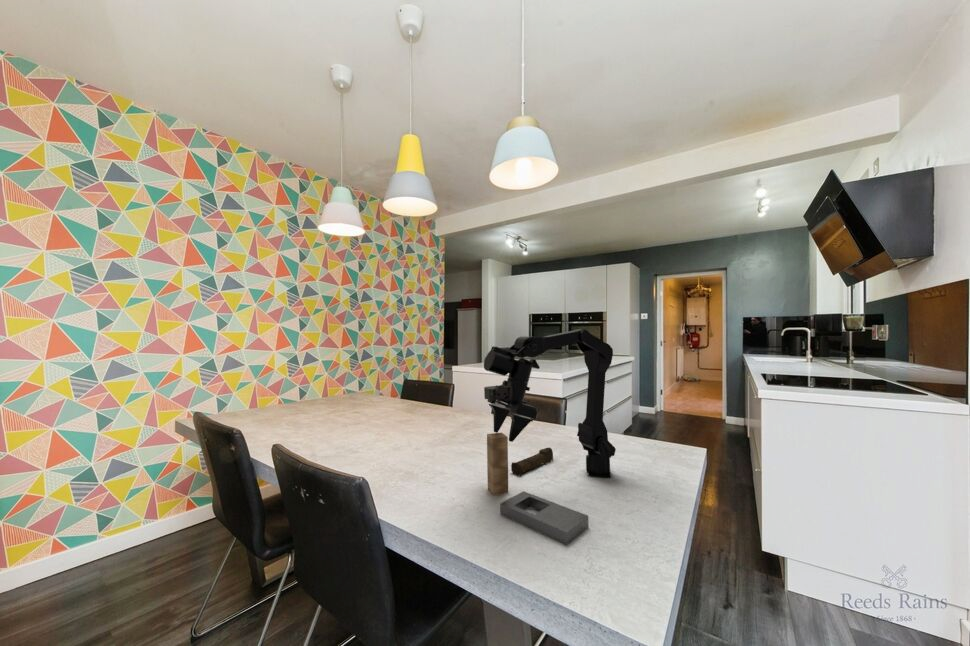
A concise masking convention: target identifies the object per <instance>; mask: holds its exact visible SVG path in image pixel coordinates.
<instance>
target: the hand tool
mask: <svg viewBox="0 0 970 646" xmlns="http://www.w3.org/2000/svg"><path fill="white" fill-rule="evenodd" d="M538 451H539V452H538V453H536V454H534V455H531V456H529V457H526V458H523V459H521V460H519V461H516V462H512V463H511V467H510V468H511V469H510V471H511V473H512V474H513V473H514V474H513V475H515V474H516V476H518V475H519V476H521V475H524V473H525V472H527V471H529V470H532V469H535V468H536V467H540V466H541V465H548V464H549V463H550V461H551V460H552V461H553V459H554V453H553V449H552V448H551V447H545V448H542V449H539V450H538ZM552 461H551V462H552ZM548 462H549V463H548ZM547 463H548V464H547Z"/></svg>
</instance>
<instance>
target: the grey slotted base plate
mask: <svg viewBox="0 0 970 646" xmlns="http://www.w3.org/2000/svg"><path fill="white" fill-rule="evenodd" d="M528 508H531V509H534V510H535V511H539V512H537V513H536V514H534V513H532V512H530V511H527V510H526V509H528ZM499 511H500V512H499V515H501V516H503V517H506V518H507V519H510V520H511V521H514V522H516V523H518V524H521V525H522V526H525V527H527V528H529V529H531V530H532V531H533V530H534V531H535V532H538V533H540V534H541V535H545V536H546V537H549V538H550V539H553V540H555V541H557V542H559V543H562V544H563V545H566V546H568V545H569V544H571V543H572V542H573V541H574V540H575V539H576V538H577V537H579V536H580V535H581V534H582V533H584V532H585V531H586V530H587V529H588V528H589V515H587V514H585V513H583V512H580V511H577V510H575V509H572V508H569V507H567V506H564V505H561V504H559V503H555V502H553V501H550V500H548V499H545V498H543V497H540V496H537V495H535V494H531V493H529V492H526V491H521V492H520V493H518V494H516V495H514V496H511V497H510V498H508V499H506V500H505V501H503V502H501V503H500V504H499Z"/></svg>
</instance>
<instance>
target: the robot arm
mask: <svg viewBox="0 0 970 646" xmlns="http://www.w3.org/2000/svg"><path fill="white" fill-rule="evenodd" d="M571 345H576V347H577V348H578V350H579V351H580V352H581V353H582V354H583V357H584V358H583V359H584V363H585V366H586V368H587V370H588V374H587V375H588V377H587V391H586V392H587V393H586V409H585V411H586V412H585V418H584V420H583V421H582V422H578V423H577V429H578V431H577V434H576V436H577V437H578V441H579V443H580V444H581V445H582V448H583V450H584V451H587V454H586V455H585V465H586V466H585V468H586V469H585V470H586V472H587V476H588V477H597V478H607V479H608V478H609V479H611V478H612V475H611V458H612V457H615V454H616V449H617V448H616V447H615V446H614V445H613V444H612V443H611V442H610V441H609V435H608V429H607V427H606V424H605V422H604V406H605V405H604V404H605V387H606V374H607V371H608V369H609V368H610V367H611V365H612V360H613V355H614V349H613V348H612V346H611V345H610V344H609V343H606V342H605V341H604V340H603V339H601V338H599V337H597V336H595V335H594V334H591V332H590V331H588V330H587V329H584V328H583V329H581V328H580V329H578V328H577V329H572V330H570V331H565V332H560V333H559V332H558V333H554V334H550V335H545V336H519V337H517V338H516V339H515V341H514V343H513V345H511V346H510V347H509V348H507V349H506V350H505V349H502V348H500V347H497V346H494V345H493V346H491V349H490V350H489V352H487V353H486V356H485V357H484V361H483V370H485V371H487V372H491V373H493V374H496V375H499V376H503V377H505V376H507V375H508V376H507V380H505V379H504V380H503V381H502V384H500V385H490V386H484V387H483V389H484V391H483V392H484V393H483V395H484V400H487V403H488V405H489V407H490V408H491V410H492V414H493V433H499V431H500V429H501V428H502V426H503V424H504V422H505V420H506V419H507V417H508V415H509V417H510V419H511V423H510V429H509V433H508V441H509V442H514V441H515V440H516V438H517V437H518V436H519V435H520V434H521V432H523V431H524V430H525V428H526V427H527V426H528V425H529V424H530V423H531V422H533V421H534V420H537V418H538V413H539V411H538V408H537V407H535V406H532V405H529V404H527V402H526V401H524V400H525V396H526V393H527V392H530V389H531V387H530V386H528V385H529V381H530V378H531V374H532V369H537V370H538V369H540V365H539V364H538V362H537V359H536V357H538V356H540V355H543V354H544V353H546V352H548V351H550V350H553V349H557V348H561V347H566V346H571ZM515 358H519V359H515ZM526 358H531V359H526ZM533 358H534V359H533Z"/></svg>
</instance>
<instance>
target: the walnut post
mask: <svg viewBox="0 0 970 646" xmlns="http://www.w3.org/2000/svg"><path fill="white" fill-rule="evenodd" d="M508 441H509V436H507V435H506V434H504V433H503V432H497V433H496V432H492V433H487V434H486V451H487V452H486V458H487V459H486V460H487V461H486V462H487V466H486V467H487V469H486V470H487V474H486V475H487V490H488V491H489V492H490V493H491V495H492V496H498V495H504V493H505V494H509V448H508V447H509V445H508V444H509V443H508Z"/></svg>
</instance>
